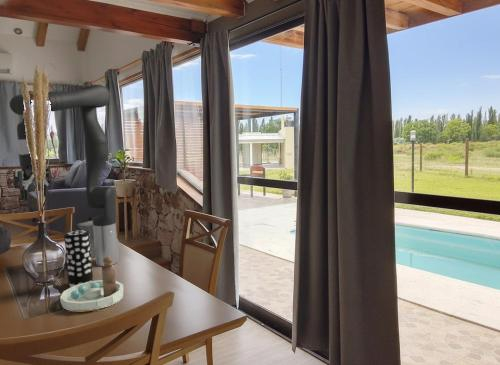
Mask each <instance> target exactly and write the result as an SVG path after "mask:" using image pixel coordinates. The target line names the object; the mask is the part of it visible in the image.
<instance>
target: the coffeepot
mask: <svg viewBox="0 0 500 365" xmlns="http://www.w3.org/2000/svg"><path fill="white" fill-rule="evenodd" d="M87 218H88V220H87V221H84V222H79V223H77V224H76V226H77V227H78V228H79V230H89V235H90V247H91V259H92V258H96V256H95V244H94V232H93V217H92V216H89V217H87Z"/></svg>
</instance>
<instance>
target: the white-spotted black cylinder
mask: <svg viewBox="0 0 500 365" xmlns="http://www.w3.org/2000/svg"><path fill="white" fill-rule="evenodd" d="M63 235H64V246H65V257H66V268H67V280H68V282H67V283H68V289H69V288H71V287H73V286H75V285H79V284H82V283H86V282H90V281H94V276H93V274H94V273H93V264H92V263H93V262H92V261H93V260H92V258H91V247H90V235H89V230H81V229H77V230H70V231H66V232H65V233H63Z"/></svg>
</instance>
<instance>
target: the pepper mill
mask: <svg viewBox="0 0 500 365" xmlns="http://www.w3.org/2000/svg"><path fill="white" fill-rule="evenodd" d="M103 263H104V266H101V276H102V280H103V291H104V297H108V296H111V295H112V294H114V293H115V292H116V281H117V279H116V268H115V264H113V265H112V259H111V257H105V258H104V260H103Z"/></svg>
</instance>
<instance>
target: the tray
mask: <svg viewBox="0 0 500 365" xmlns="http://www.w3.org/2000/svg"><path fill="white" fill-rule="evenodd" d="M59 298H60V301H59V302H60V304H61V308H62V307H63V308H64V309H66V310H93V309H99V308H104V307H108V306H111V305H113V304H115V303H116V304H118V303H119V302H121V301H122V300H121V299H123V298H124V284H123V283H121V282H119V281H117V280H116V292H115V293H114V294H112V295H111V296H108V297H104V291H103V279H100V280H99V279H98V280H93V281H90V282H86V283H82V284H79V285H75V286H73V287H71V288H69V287H68V288H67V289H66V290H64V291H62V293H61V295H60V297H59ZM120 300H121V301H120ZM117 302H118V303H117ZM116 304H115V305H116ZM113 306H114V305H113ZM111 307H112V306H111ZM63 308H62V309H63ZM108 308H109V307H108ZM64 309H63V310H64ZM66 310H65V311H66Z"/></svg>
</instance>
